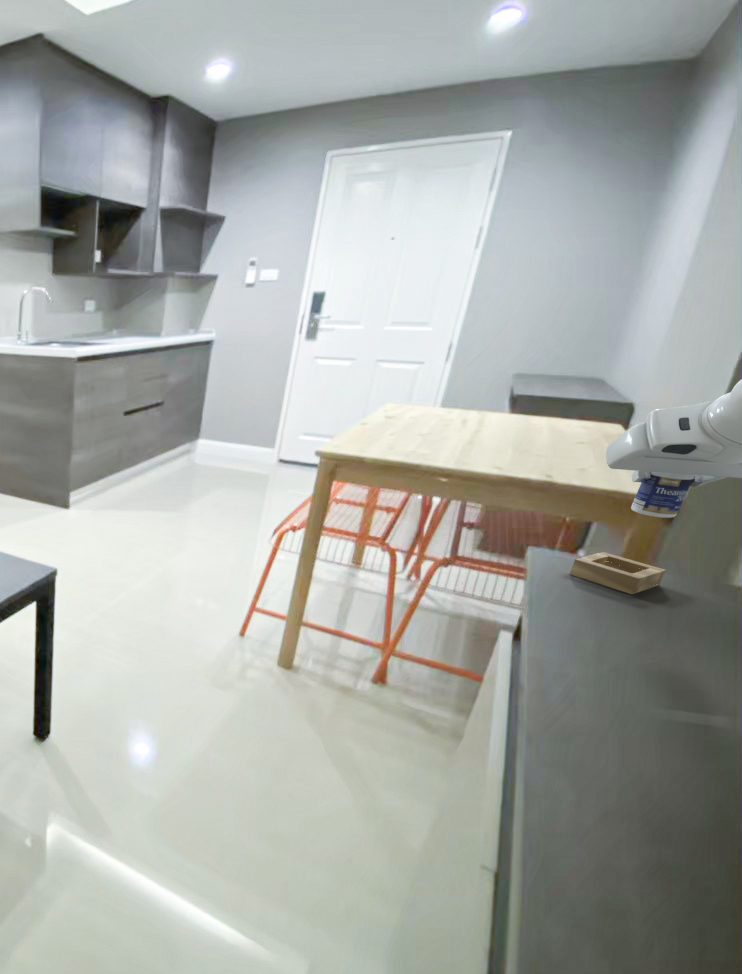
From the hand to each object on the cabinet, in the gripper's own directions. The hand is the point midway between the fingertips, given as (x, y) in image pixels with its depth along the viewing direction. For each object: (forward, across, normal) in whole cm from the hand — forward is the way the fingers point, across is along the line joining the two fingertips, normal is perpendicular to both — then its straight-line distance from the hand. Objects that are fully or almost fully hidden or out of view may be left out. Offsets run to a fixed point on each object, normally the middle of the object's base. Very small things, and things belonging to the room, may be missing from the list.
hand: (663, 480), depth 98 cm
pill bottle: (+4, 0, +4) cm, 6 cm away
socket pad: (+16, -1, +11) cm, 20 cm away
